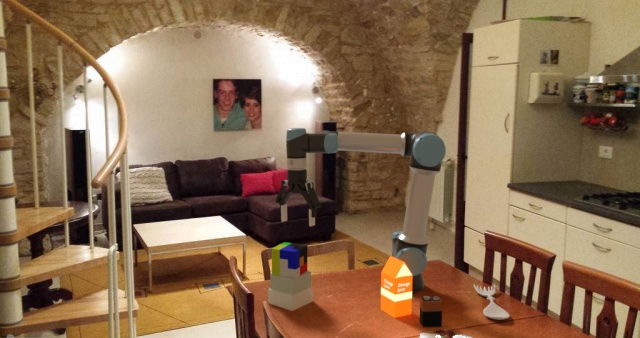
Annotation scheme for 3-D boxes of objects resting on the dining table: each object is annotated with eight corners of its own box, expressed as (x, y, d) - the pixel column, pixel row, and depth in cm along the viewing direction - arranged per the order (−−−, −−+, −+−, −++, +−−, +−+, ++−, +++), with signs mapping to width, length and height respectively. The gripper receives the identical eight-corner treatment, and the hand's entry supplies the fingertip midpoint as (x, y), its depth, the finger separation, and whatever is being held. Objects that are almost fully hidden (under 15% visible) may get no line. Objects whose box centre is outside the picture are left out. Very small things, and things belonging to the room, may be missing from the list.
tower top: (311, 286, 208) (311, 271, 207) (293, 295, 199) (293, 279, 198) (288, 280, 214) (288, 266, 213) (270, 288, 205) (270, 273, 205)
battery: (419, 322, 189) (419, 294, 188) (438, 321, 190) (439, 294, 188) (422, 327, 185) (423, 299, 183) (442, 327, 185) (443, 299, 184)
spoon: (495, 291, 219) (495, 283, 218) (512, 325, 187) (512, 315, 187) (472, 290, 220) (472, 282, 220) (485, 323, 189) (485, 314, 188)
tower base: (312, 302, 208) (312, 287, 207) (292, 311, 199) (292, 296, 198) (289, 294, 215) (289, 280, 215) (268, 304, 206) (268, 288, 205)
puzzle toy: (295, 278, 199) (295, 251, 198) (271, 274, 203) (271, 248, 202) (307, 270, 208) (307, 245, 207) (284, 267, 212) (284, 242, 211)
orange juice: (394, 318, 193) (395, 263, 190) (380, 309, 200) (381, 256, 198) (412, 314, 196) (413, 260, 193) (397, 305, 204) (398, 253, 201)
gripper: (265, 167, 211) (267, 221, 214) (317, 172, 196) (318, 229, 199) (278, 165, 217) (279, 217, 220) (329, 169, 202) (330, 225, 205)
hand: (297, 223), depth 209 cm, fingers open, 13 cm apart
